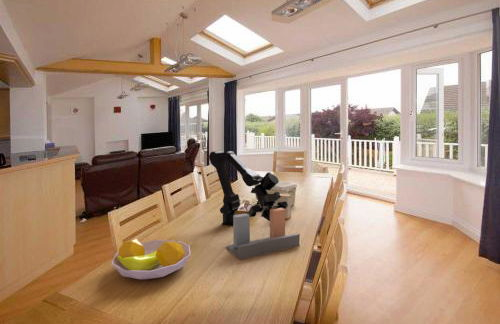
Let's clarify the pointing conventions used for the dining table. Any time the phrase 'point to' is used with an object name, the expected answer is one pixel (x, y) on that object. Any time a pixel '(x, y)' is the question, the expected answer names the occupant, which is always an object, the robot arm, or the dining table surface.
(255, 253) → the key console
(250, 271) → the dining table surface
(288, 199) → the supplement box
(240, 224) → the slate key
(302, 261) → the dining table surface
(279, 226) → the terracotta key
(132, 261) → the fruit bowl
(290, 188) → the storage basket
